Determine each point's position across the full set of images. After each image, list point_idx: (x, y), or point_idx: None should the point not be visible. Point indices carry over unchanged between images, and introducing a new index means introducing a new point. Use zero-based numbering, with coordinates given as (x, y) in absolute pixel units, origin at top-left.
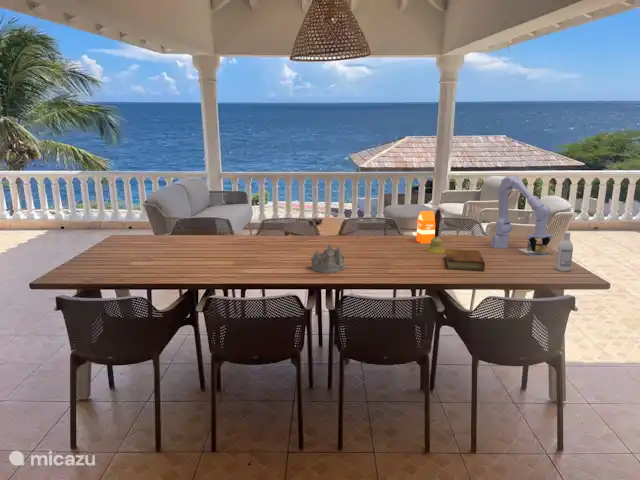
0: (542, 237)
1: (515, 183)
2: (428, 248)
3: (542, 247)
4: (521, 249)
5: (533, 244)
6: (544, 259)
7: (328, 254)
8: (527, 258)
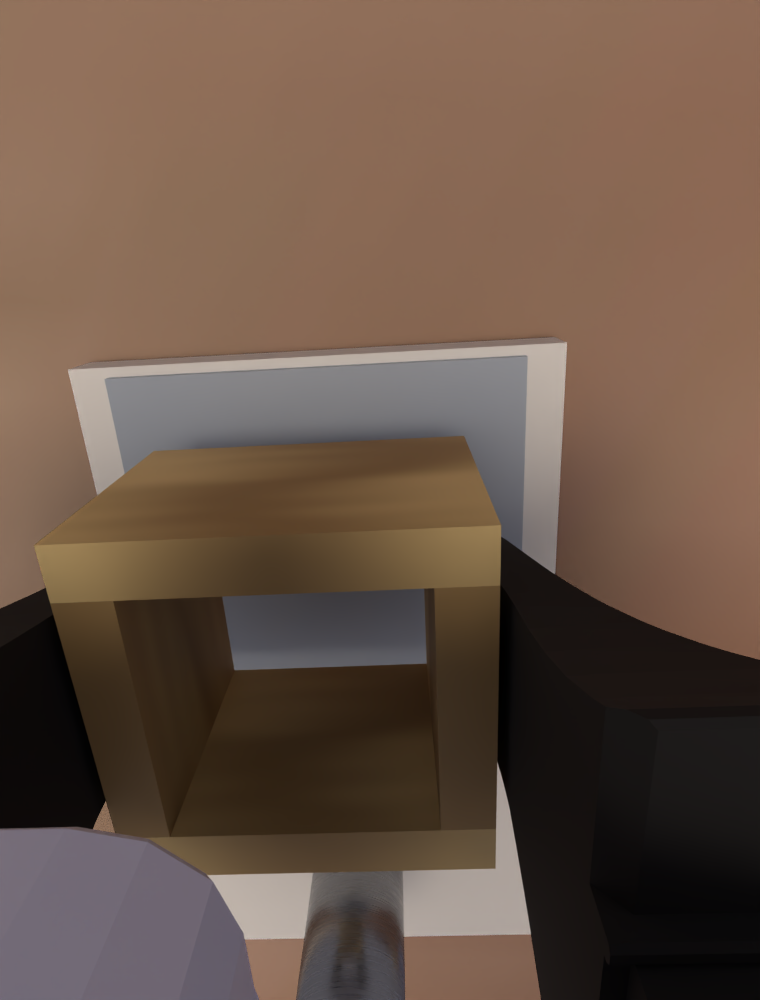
0: (85, 831)
1: None
2: None
3: (215, 511)
4: (490, 904)
5: (640, 621)
6: (290, 204)
7: None
8: (704, 335)
